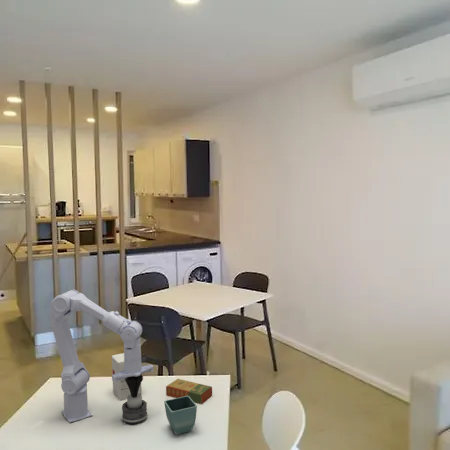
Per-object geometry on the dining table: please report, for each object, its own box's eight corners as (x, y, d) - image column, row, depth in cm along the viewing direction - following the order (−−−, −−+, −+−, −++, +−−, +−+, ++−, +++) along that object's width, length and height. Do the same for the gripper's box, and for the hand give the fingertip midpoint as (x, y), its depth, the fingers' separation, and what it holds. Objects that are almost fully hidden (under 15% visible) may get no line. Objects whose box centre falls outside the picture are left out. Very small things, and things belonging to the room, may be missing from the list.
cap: (125, 407, 156) (124, 396, 156) (138, 402, 159) (138, 392, 159) (131, 412, 152) (130, 401, 152) (144, 408, 155) (144, 397, 155)
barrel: (118, 417, 157) (117, 403, 157) (140, 410, 162) (140, 396, 162) (128, 427, 150) (128, 413, 150) (151, 419, 155) (151, 405, 155)
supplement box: (112, 392, 177) (110, 355, 176) (134, 386, 182) (132, 350, 181) (119, 401, 169) (117, 362, 168) (142, 395, 174) (140, 357, 173)
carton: (178, 388, 180) (178, 377, 180) (212, 396, 173) (212, 385, 172) (165, 396, 173) (165, 385, 173) (201, 405, 165) (201, 394, 165)
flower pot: (164, 426, 151) (163, 400, 150) (189, 420, 154) (188, 395, 153) (172, 439, 143) (171, 412, 142) (198, 432, 146) (197, 406, 145)
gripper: (117, 366, 147) (118, 407, 148) (157, 356, 155) (158, 394, 156) (108, 360, 153) (110, 399, 154) (147, 350, 161) (149, 387, 162)
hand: (134, 396), depth 155 cm, fingers closed
